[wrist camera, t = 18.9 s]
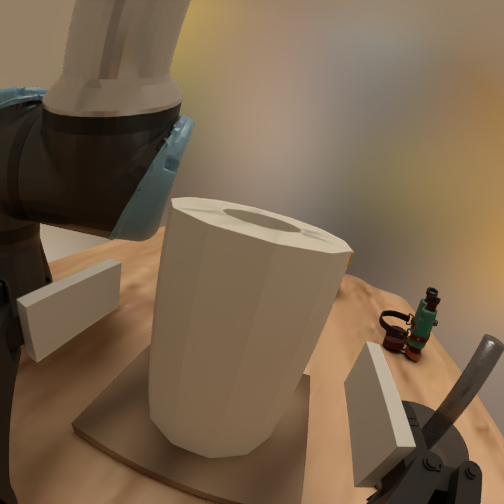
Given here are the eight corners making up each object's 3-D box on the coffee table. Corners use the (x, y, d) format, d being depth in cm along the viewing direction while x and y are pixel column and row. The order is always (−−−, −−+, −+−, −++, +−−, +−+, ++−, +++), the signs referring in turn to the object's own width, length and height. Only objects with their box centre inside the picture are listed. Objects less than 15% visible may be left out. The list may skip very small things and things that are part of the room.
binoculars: (393, 274, 43) (444, 289, 37) (376, 329, 45) (424, 345, 40) (389, 284, 35) (450, 303, 30) (367, 349, 37) (424, 367, 32)
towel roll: (125, 421, 15) (133, 202, 11) (179, 353, 25) (209, 195, 21) (261, 473, 14) (367, 271, 10) (279, 387, 23) (338, 232, 19)
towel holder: (358, 511, 11) (483, 389, 8) (349, 398, 25) (405, 290, 21) (475, 493, 10) (568, 388, 6) (443, 410, 23) (498, 320, 20)
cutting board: (74, 432, 13) (71, 423, 13) (165, 336, 28) (166, 327, 28) (292, 518, 11) (299, 513, 11) (306, 383, 26) (310, 375, 26)
